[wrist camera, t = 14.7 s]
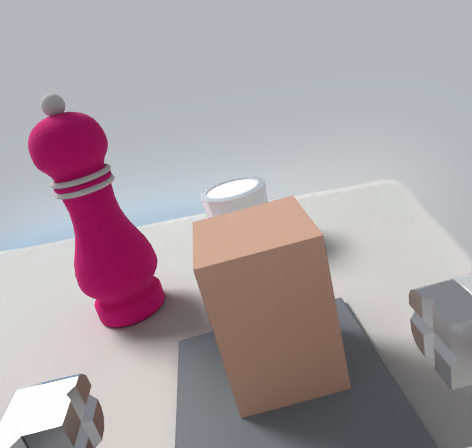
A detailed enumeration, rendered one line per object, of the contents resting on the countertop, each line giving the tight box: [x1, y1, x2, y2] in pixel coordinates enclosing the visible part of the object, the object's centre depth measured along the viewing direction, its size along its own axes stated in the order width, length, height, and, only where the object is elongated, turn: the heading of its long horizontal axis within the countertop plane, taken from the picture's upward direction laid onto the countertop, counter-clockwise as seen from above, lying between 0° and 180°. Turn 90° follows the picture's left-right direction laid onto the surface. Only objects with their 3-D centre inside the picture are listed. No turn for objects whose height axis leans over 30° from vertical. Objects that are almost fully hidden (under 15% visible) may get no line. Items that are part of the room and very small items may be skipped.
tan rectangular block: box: [193, 196, 351, 418], centre depth 26 cm, size 7×7×10 cm
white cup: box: [200, 177, 267, 218], centre depth 45 cm, size 7×7×7 cm
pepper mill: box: [28, 94, 165, 327], centre depth 36 cm, size 7×7×20 cm
